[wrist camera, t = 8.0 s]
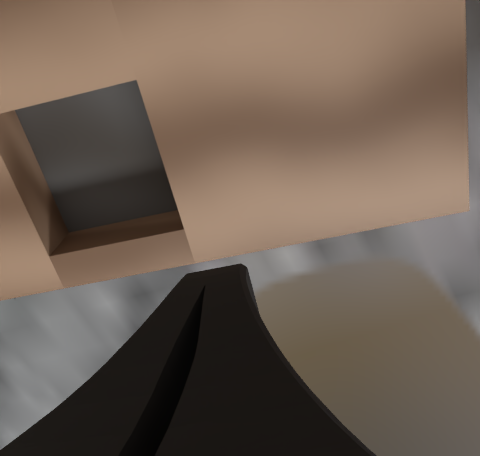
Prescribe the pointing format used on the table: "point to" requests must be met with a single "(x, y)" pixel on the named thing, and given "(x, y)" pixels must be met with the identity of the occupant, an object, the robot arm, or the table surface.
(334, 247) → the table surface
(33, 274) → the deck
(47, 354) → the table surface
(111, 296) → the table surface
